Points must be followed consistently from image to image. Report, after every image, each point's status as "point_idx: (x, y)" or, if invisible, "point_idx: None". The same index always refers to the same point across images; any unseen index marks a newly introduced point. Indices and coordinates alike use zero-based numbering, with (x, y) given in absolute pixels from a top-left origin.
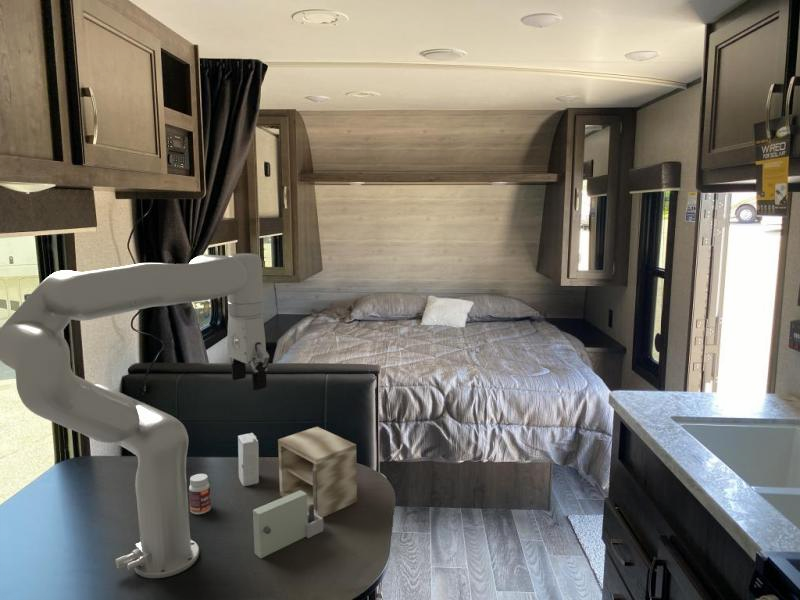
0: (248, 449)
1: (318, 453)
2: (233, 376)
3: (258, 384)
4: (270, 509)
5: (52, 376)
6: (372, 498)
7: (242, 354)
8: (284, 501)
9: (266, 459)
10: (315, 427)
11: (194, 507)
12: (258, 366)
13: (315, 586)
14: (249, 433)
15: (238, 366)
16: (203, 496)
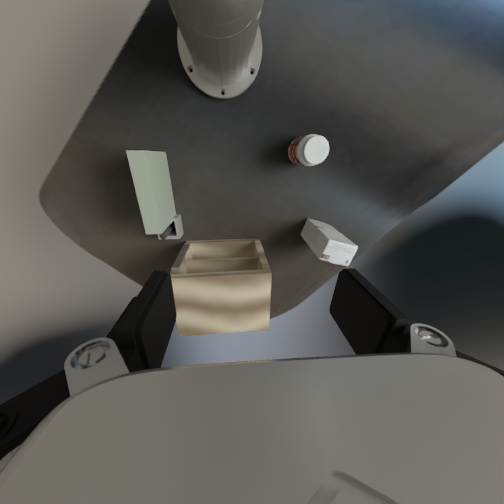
0: (321, 242)
1: (185, 290)
2: (350, 276)
3: (132, 300)
4: (131, 172)
5: None
6: None
7: (108, 495)
8: (142, 200)
9: (339, 267)
10: (267, 326)
11: (297, 138)
12: (42, 403)
13: (67, 170)
14: (349, 262)
15: (367, 328)
16: (294, 149)
